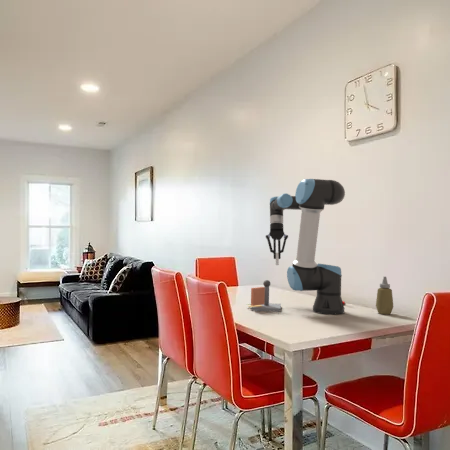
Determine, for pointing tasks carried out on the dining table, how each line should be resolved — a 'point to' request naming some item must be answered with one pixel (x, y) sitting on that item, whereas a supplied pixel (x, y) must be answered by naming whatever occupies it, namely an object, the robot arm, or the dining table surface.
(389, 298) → the squeeze bottle
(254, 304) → the lever
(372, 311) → the dining table surface
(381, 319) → the dining table surface
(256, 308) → the grey flat block
